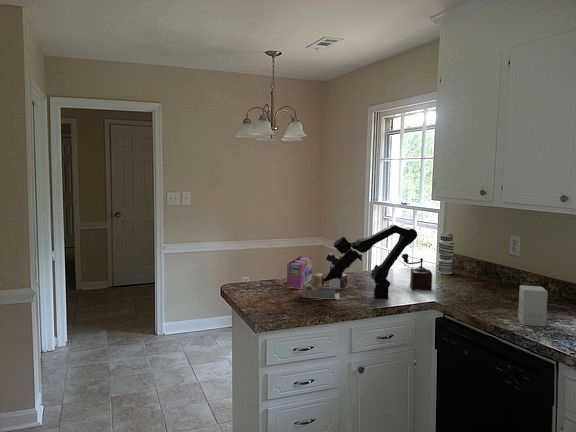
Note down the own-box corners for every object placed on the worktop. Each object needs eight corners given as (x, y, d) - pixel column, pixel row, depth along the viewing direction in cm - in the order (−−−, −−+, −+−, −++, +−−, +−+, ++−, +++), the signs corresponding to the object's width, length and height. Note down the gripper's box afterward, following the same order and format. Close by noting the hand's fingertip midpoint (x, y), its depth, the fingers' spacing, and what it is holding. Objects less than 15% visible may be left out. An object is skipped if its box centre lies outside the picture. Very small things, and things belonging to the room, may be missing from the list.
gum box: (300, 278, 271) (300, 255, 270) (313, 280, 269) (313, 256, 267) (286, 288, 249) (286, 263, 248) (300, 290, 246) (300, 264, 245)
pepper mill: (428, 285, 258) (430, 253, 256) (432, 290, 247) (433, 257, 245) (400, 284, 260) (401, 252, 258) (402, 289, 249) (403, 256, 247)
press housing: (339, 294, 237) (339, 281, 236) (339, 300, 227) (339, 286, 226) (304, 293, 239) (304, 280, 238) (302, 298, 229) (302, 285, 229)
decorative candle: (449, 271, 297) (451, 232, 294) (455, 274, 288) (457, 234, 285) (435, 270, 297) (437, 232, 294) (440, 274, 287) (442, 234, 285)
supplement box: (540, 320, 200) (542, 286, 198) (546, 327, 191) (548, 291, 189) (517, 318, 202) (519, 284, 200) (522, 325, 193) (524, 289, 192)
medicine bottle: (340, 289, 247) (340, 267, 246) (328, 287, 251) (329, 265, 250) (347, 287, 253) (347, 265, 251) (335, 285, 257) (336, 263, 256)
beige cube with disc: (323, 292, 236) (324, 273, 235) (323, 296, 230) (323, 276, 229) (312, 292, 237) (312, 273, 236) (311, 295, 231) (311, 275, 230)
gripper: (336, 245, 239) (314, 265, 241) (335, 251, 221) (311, 273, 223) (351, 260, 239) (329, 280, 241) (351, 268, 220) (327, 290, 223)
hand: (324, 280), depth 232 cm, fingers closed, pressing on beige cube with disc
